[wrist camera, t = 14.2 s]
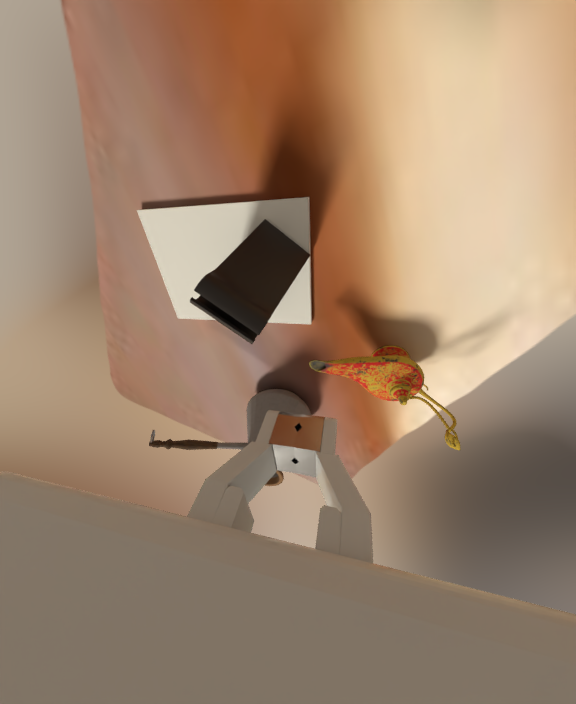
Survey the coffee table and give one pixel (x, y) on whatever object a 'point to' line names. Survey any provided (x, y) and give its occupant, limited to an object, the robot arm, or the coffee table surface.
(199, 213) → the mat
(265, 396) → the coffee pot
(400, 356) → the magic lamp
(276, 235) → the phone stand
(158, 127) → the coffee table surface
